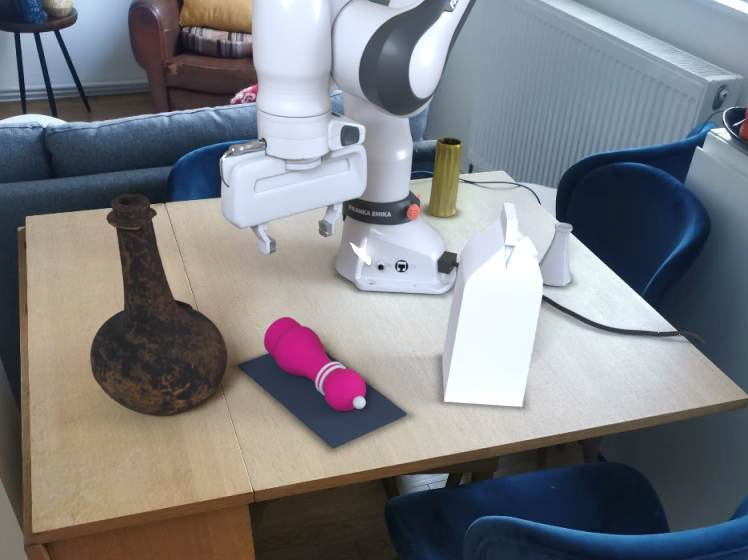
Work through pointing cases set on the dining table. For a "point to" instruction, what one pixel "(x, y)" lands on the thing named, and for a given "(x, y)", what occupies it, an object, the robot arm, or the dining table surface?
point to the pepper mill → (314, 364)
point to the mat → (321, 403)
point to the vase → (445, 177)
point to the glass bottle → (153, 328)
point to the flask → (557, 258)
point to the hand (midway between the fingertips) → (298, 243)
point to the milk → (493, 316)
